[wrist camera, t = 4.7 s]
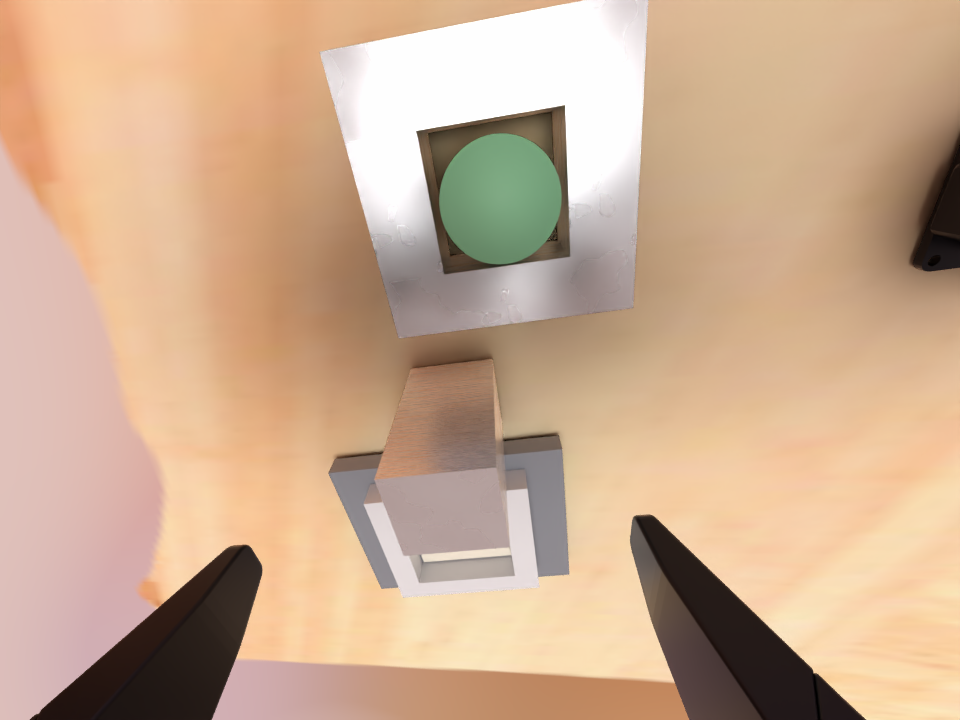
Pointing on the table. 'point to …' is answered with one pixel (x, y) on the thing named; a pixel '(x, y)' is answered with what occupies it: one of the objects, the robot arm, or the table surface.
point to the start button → (500, 198)
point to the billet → (446, 462)
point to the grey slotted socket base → (515, 567)
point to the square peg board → (487, 98)
